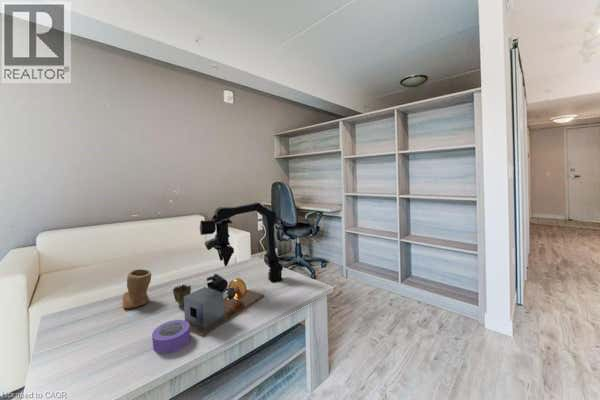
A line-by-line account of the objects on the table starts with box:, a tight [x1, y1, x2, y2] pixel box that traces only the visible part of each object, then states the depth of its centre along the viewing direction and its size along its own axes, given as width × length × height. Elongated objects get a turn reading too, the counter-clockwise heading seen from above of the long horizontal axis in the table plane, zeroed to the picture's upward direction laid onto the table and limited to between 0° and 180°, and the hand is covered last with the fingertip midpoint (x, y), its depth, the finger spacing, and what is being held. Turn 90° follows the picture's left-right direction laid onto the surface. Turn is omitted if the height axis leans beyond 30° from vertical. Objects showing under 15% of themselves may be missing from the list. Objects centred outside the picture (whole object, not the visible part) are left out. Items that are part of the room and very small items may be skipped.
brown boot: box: [121, 268, 152, 309], centre depth 119 cm, size 15×12×15 cm
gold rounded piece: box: [223, 277, 248, 300], centre depth 111 cm, size 17×9×9 cm, turn 150°
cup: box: [172, 284, 192, 307], centre depth 116 cm, size 8×7×8 cm
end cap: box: [206, 273, 229, 292], centre depth 131 cm, size 10×7×7 cm
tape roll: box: [151, 319, 191, 354], centre depth 90 cm, size 12×12×5 cm
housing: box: [183, 286, 265, 338], centre depth 111 cm, size 36×14×12 cm, turn 150°
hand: (223, 263), depth 128 cm, fingers open, 9 cm apart
